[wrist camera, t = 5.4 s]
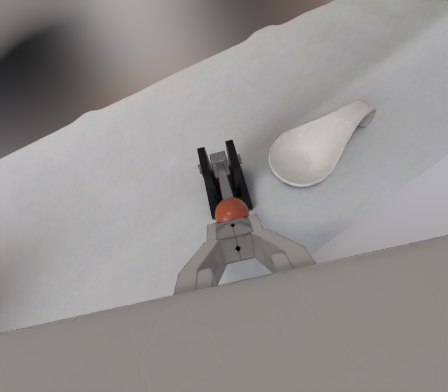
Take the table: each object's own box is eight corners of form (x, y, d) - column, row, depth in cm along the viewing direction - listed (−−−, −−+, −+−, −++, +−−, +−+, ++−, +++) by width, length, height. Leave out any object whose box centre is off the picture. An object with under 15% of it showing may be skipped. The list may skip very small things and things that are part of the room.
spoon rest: (294, 203, 31) (308, 190, 24) (254, 162, 35) (257, 141, 28) (379, 136, 34) (413, 107, 27) (333, 105, 37) (353, 72, 31)
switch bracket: (252, 209, 31) (258, 183, 19) (213, 219, 32) (194, 199, 20) (239, 166, 35) (237, 121, 23) (204, 175, 35) (183, 135, 23)
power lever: (254, 233, 15) (251, 210, 13) (221, 241, 15) (212, 219, 13) (231, 166, 25) (227, 147, 23) (211, 171, 25) (205, 152, 23)
